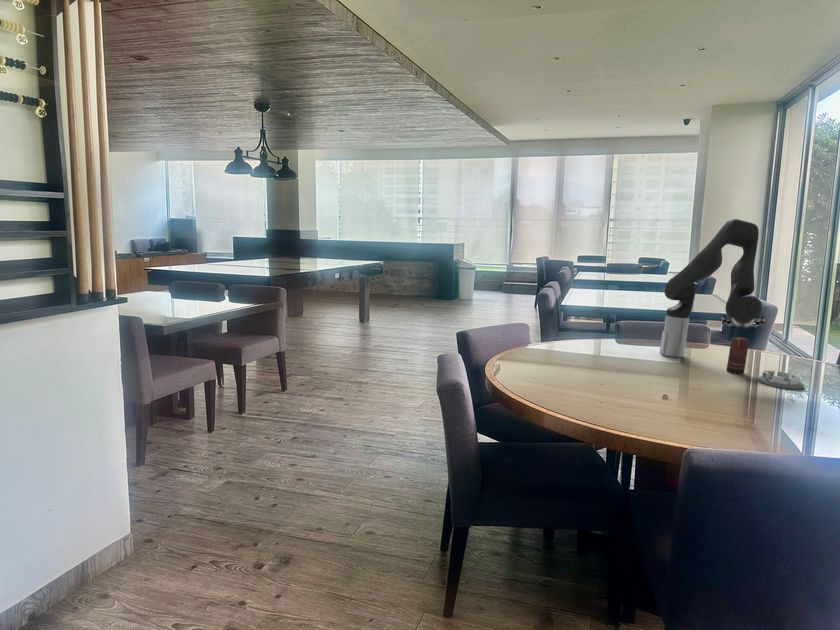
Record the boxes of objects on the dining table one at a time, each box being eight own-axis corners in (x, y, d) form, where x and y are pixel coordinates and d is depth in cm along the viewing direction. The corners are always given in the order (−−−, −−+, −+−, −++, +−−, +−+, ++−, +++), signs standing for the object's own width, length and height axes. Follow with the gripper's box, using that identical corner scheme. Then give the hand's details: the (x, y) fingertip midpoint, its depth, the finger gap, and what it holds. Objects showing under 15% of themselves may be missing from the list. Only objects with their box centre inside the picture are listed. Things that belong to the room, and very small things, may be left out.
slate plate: (765, 386, 207) (765, 384, 207) (750, 376, 222) (751, 373, 222) (811, 391, 205) (811, 389, 204) (793, 380, 219) (793, 378, 219)
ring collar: (769, 383, 209) (770, 376, 208) (758, 375, 220) (759, 369, 219) (803, 387, 206) (804, 380, 206) (790, 378, 217) (791, 372, 217)
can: (726, 372, 225) (731, 337, 222) (726, 369, 230) (731, 335, 228) (744, 375, 222) (749, 340, 220) (743, 372, 228) (749, 337, 225)
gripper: (766, 306, 204) (764, 315, 218) (721, 305, 211) (722, 313, 225) (765, 327, 203) (764, 334, 217) (720, 325, 210) (721, 332, 224)
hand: (743, 324), depth 221 cm, fingers open, 8 cm apart
